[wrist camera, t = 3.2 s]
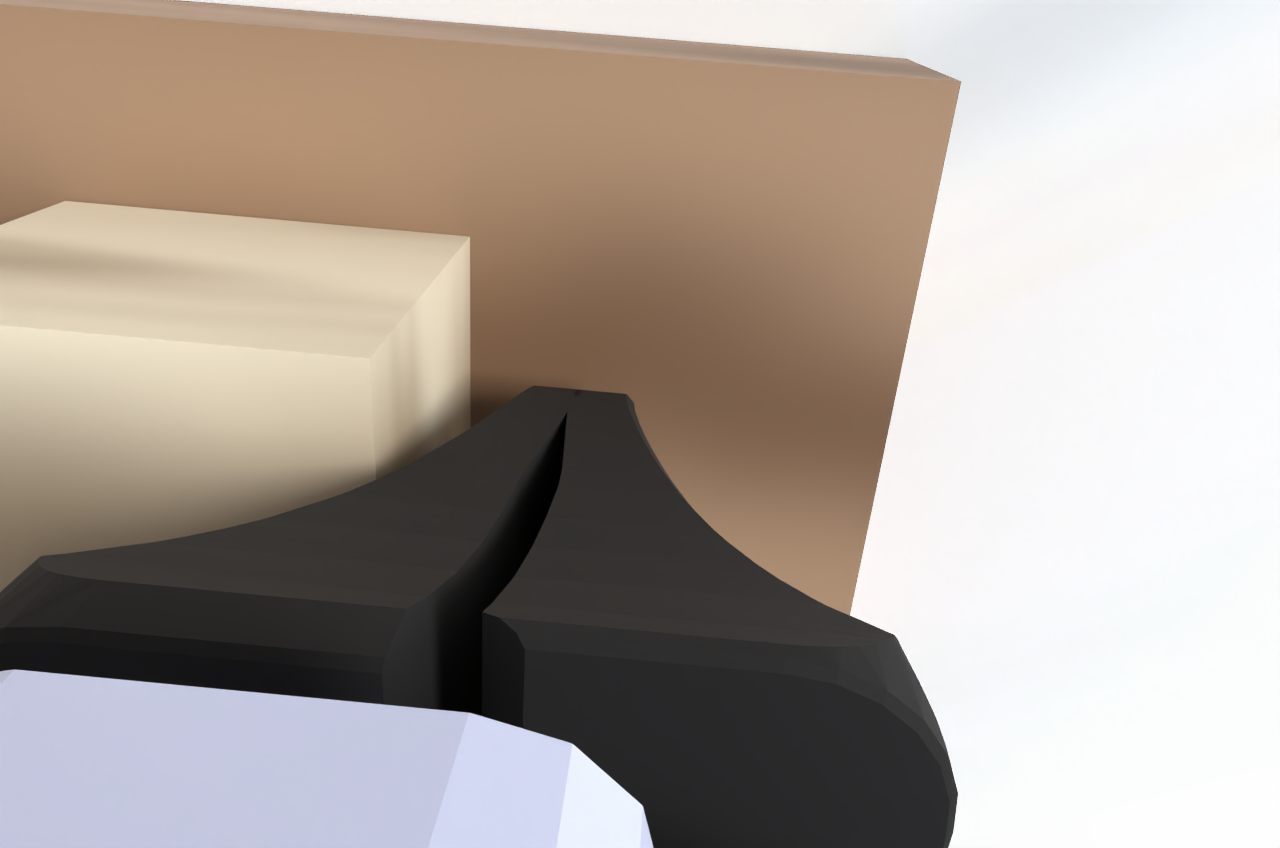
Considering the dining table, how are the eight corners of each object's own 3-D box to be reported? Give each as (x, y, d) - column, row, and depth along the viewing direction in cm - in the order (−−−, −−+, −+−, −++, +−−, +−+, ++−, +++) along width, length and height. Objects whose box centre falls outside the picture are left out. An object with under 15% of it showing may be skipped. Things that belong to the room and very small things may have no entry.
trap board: (761, 854, 20) (770, 991, 17) (-334, 750, 21) (-490, 869, 18) (906, 58, 13) (960, 81, 10) (-761, -75, 14) (-1123, -87, 11)
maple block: (471, 573, 14) (392, 788, 10) (131, 542, 14) (-68, 745, 10) (470, 236, 11) (369, 358, 8) (65, 201, 12) (-219, 305, 8)
